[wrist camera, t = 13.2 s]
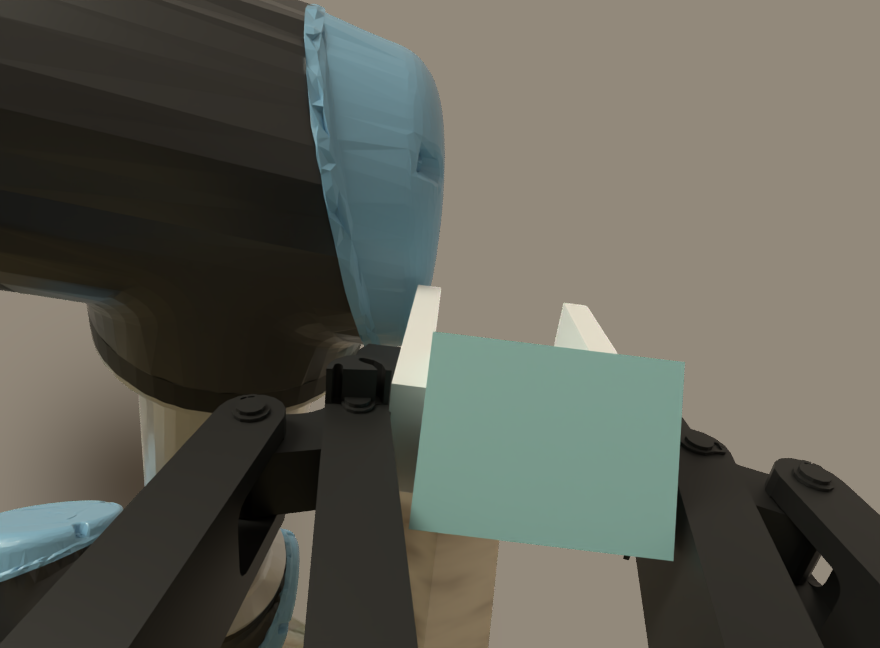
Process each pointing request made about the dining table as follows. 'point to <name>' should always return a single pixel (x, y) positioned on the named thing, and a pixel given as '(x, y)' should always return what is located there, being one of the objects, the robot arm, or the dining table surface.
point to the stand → (450, 585)
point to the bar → (549, 446)
